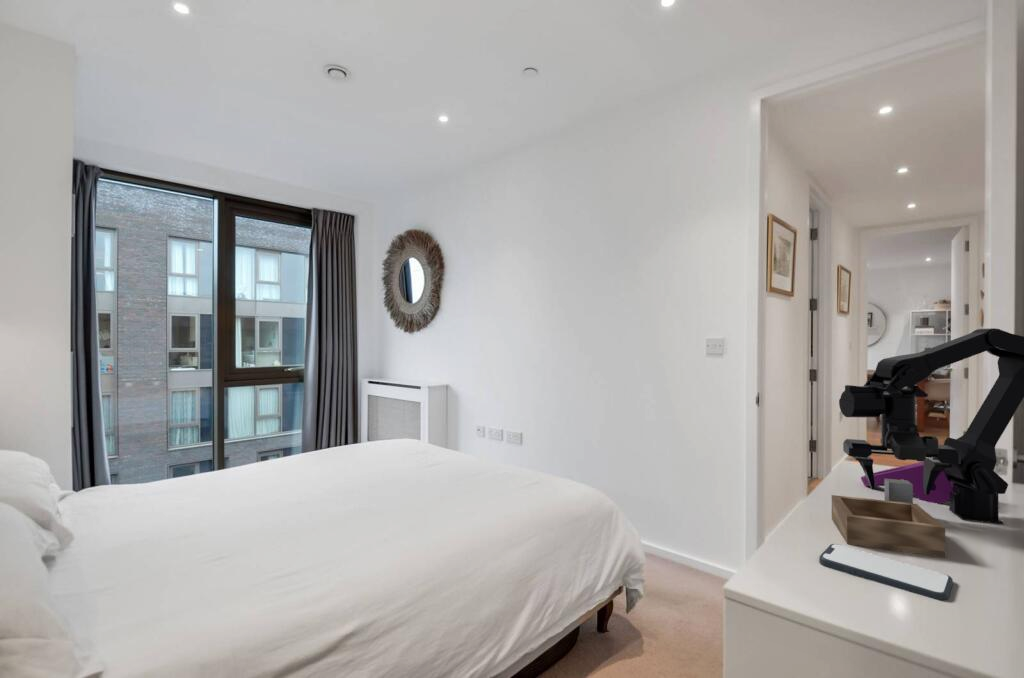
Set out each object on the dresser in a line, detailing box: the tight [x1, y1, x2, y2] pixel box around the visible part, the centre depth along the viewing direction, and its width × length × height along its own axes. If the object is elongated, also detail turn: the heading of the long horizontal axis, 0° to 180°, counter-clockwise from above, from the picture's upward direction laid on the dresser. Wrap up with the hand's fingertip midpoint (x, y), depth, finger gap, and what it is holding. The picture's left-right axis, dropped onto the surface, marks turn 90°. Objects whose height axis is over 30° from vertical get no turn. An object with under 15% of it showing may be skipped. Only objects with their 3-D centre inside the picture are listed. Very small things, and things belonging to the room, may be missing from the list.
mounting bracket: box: [860, 461, 956, 505], centre depth 117 cm, size 10×8×18 cm
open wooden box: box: [831, 494, 946, 558], centre depth 91 cm, size 14×13×5 cm
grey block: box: [883, 479, 914, 503], centre depth 104 cm, size 4×6×7 cm, turn 157°
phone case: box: [818, 543, 954, 601], centre depth 77 cm, size 9×2×16 cm
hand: (899, 491), depth 102 cm, fingers open, 9 cm apart
